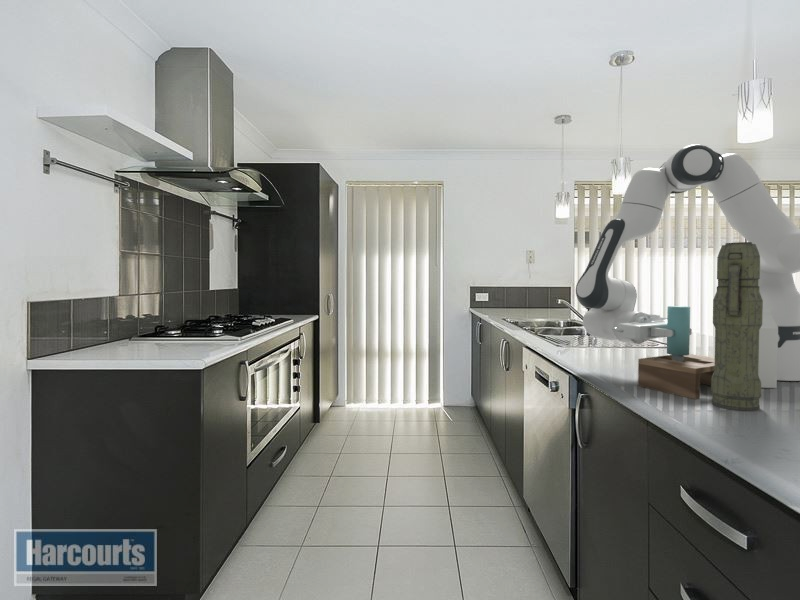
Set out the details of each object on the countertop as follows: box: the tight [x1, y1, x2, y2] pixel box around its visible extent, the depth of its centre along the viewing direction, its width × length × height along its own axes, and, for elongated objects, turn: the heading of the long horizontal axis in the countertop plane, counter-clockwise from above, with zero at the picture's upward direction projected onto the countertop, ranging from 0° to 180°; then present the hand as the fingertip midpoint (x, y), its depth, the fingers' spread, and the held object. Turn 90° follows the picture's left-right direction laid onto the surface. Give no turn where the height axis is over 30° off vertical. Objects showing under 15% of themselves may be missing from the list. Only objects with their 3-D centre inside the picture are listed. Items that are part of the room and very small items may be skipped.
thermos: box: [710, 241, 763, 412], centre depth 106 cm, size 9×12×35 cm
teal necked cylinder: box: [666, 305, 691, 362], centre depth 125 cm, size 6×6×16 cm
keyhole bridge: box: [637, 353, 715, 400], centre depth 123 cm, size 18×15×7 cm
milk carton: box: [758, 311, 778, 389], centre depth 125 cm, size 7×7×19 cm
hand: (681, 332), depth 125 cm, fingers closed on teal necked cylinder, 5 cm apart
